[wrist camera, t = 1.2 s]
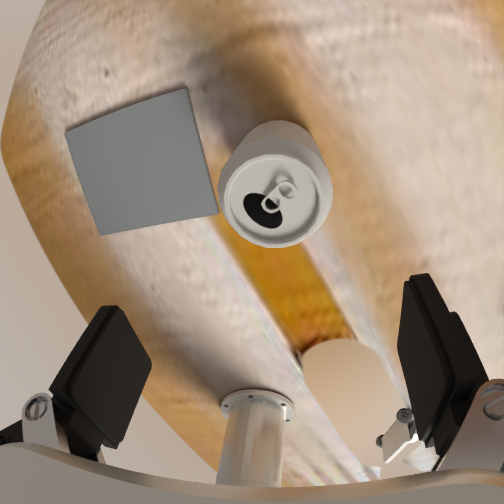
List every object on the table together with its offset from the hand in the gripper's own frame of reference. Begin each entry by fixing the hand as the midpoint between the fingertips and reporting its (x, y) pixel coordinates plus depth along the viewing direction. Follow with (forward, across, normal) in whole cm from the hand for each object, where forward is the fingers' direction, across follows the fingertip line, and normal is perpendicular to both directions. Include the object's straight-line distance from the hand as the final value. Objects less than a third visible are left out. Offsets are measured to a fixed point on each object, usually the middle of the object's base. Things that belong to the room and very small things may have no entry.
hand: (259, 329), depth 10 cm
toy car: (+23, -22, +54) cm, 62 cm away
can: (+23, 0, 0) cm, 23 cm away
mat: (+22, +15, -2) cm, 27 cm away
